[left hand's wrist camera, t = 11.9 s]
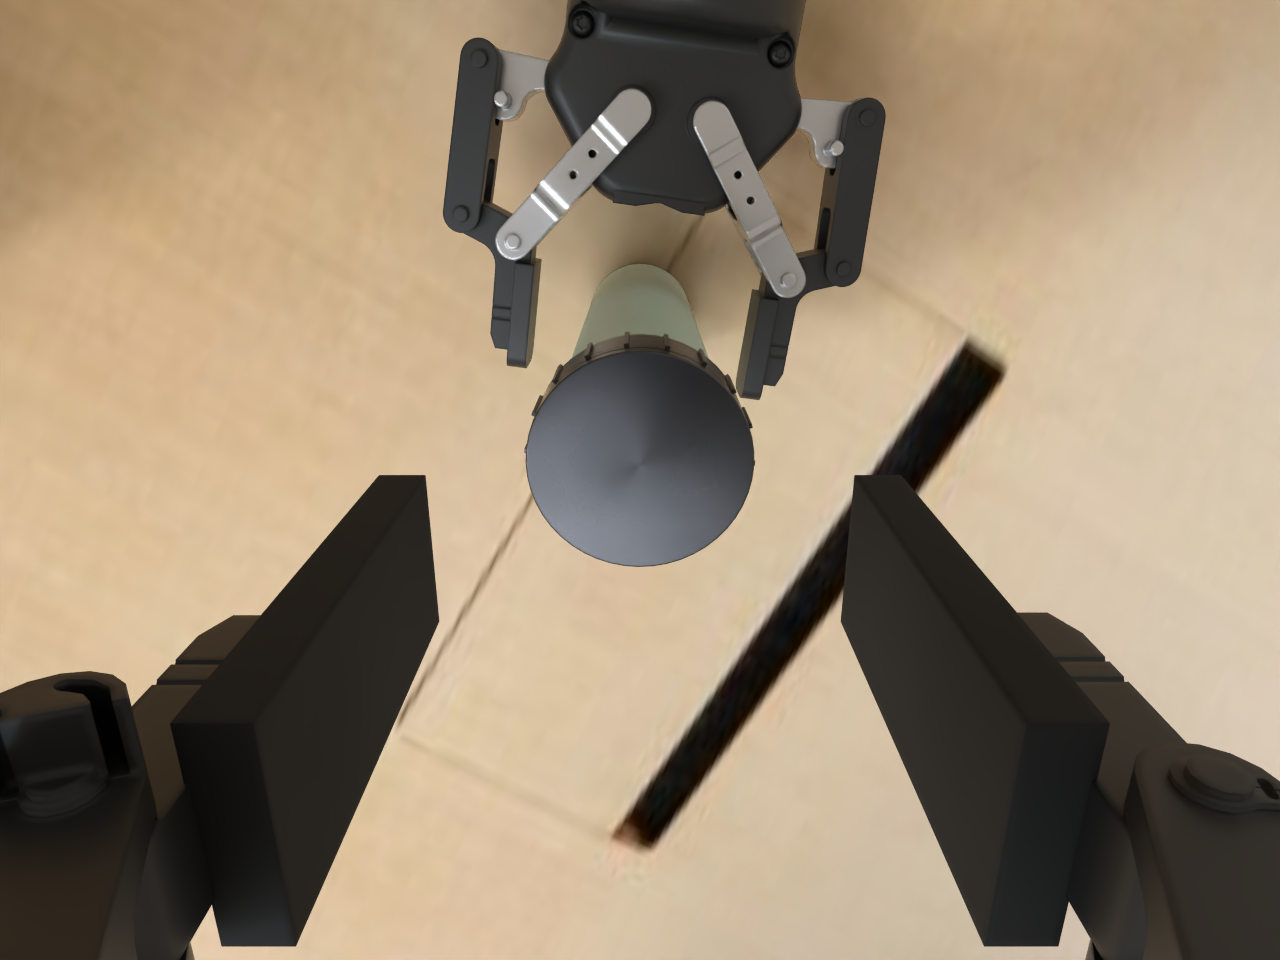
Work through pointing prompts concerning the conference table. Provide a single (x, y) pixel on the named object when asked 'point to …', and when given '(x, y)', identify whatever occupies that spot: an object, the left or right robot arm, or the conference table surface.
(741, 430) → the lid
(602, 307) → the pale green bottle
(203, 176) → the conference table surface
